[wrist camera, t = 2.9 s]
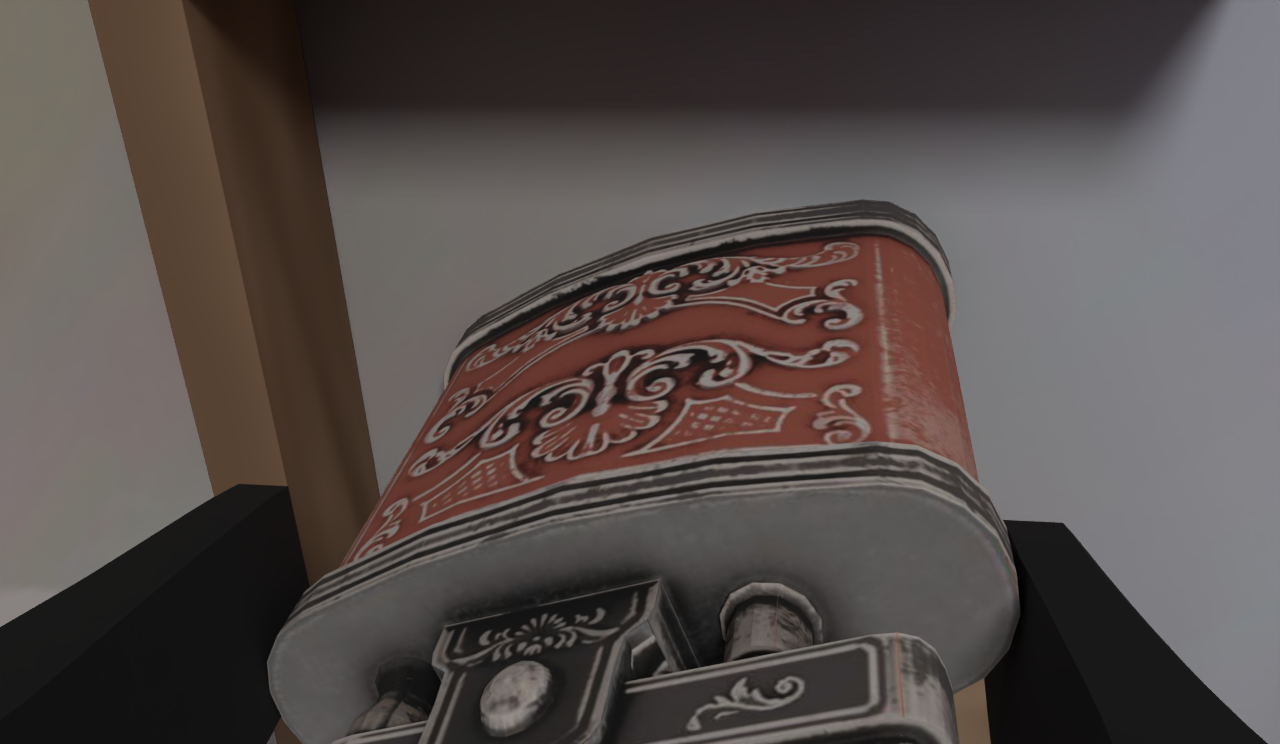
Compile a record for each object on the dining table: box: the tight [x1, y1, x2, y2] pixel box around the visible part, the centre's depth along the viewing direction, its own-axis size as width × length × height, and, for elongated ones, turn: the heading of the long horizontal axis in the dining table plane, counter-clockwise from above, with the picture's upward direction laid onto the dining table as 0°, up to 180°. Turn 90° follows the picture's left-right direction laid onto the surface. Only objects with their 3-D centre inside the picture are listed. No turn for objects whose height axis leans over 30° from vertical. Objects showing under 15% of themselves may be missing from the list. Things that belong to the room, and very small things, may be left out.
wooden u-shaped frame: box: [88, 0, 991, 744], centre depth 17 cm, size 14×14×3 cm
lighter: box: [267, 200, 1021, 744], centre depth 14 cm, size 8×3×10 cm, turn 111°
